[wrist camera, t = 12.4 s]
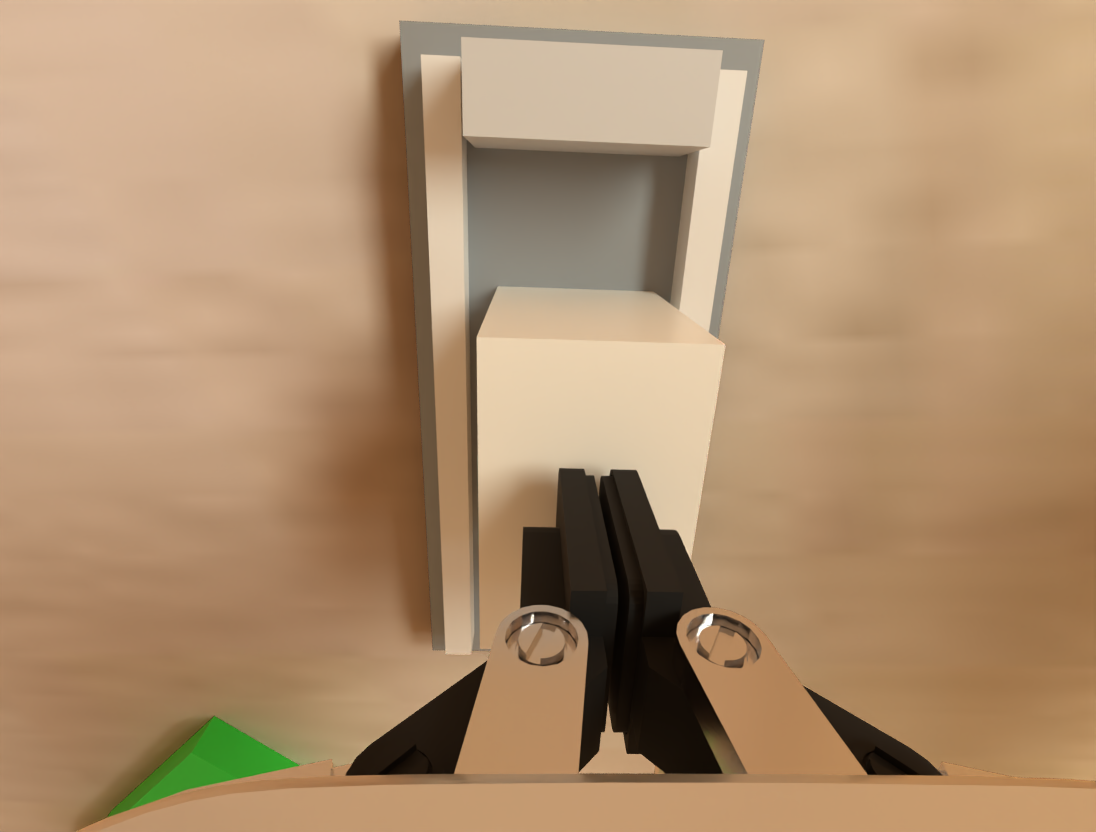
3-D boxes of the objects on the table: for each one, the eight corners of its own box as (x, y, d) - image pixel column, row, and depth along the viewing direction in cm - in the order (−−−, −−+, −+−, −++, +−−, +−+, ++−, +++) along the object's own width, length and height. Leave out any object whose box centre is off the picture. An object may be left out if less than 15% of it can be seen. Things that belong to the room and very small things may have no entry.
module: (654, 291, 17) (728, 345, 11) (631, 507, 20) (677, 650, 14) (496, 285, 17) (474, 336, 11) (495, 504, 20) (477, 648, 14)
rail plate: (748, 51, 16) (817, 2, 12) (663, 631, 24) (688, 714, 20) (409, 33, 16) (368, -23, 12) (437, 629, 24) (418, 713, 20)
